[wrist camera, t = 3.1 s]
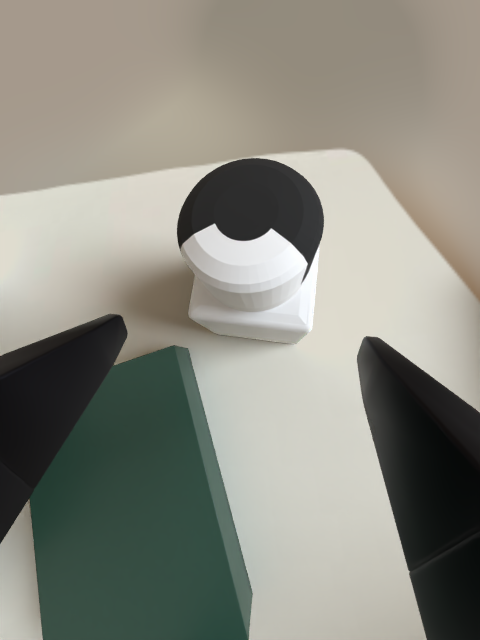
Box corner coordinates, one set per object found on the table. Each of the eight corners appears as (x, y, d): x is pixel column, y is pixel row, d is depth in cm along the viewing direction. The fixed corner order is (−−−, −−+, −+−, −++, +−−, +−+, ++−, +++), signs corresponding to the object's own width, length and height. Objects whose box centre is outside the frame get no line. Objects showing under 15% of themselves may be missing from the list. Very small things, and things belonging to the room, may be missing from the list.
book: (252, 593, 17) (248, 641, 14) (85, 637, 18) (47, 691, 15) (187, 348, 21) (174, 345, 18) (53, 393, 22) (19, 397, 19)
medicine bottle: (226, 257, 22) (174, 132, 10) (306, 263, 21) (350, 131, 9) (214, 334, 21) (139, 291, 9) (298, 345, 20) (337, 312, 8)
